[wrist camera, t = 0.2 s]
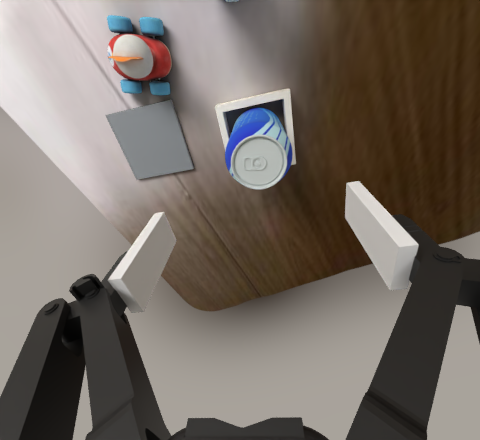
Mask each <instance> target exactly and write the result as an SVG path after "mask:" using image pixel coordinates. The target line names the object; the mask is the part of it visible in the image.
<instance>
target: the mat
mask: <svg viewBox="0 0 480 440" xmlns="http://www.w3.org/2000/svg"><path fill="white" fill-rule="evenodd" d="M106 117H107V120H108V122H109V124H110V126H111V128H112V130H113V132H114V134H115V136H116V138H117V140H118V142H119V144H120V146H121V148H122V151H123V153H124V155H125V157H126V159H127V161H128V163H129V165H130V167H131V169H132V171H133V173H134V175H135V177H136V179H137V180H138V179H143V178H148V177H154V176H159V175H164V174H170V173H175V172H180V171H185V170H191V169H194V165H193V162H192V159H191V156H190V153H189V150H188V147H187V144H186V141H185V138H184V135H183V132H182V129H181V126H180V123H179V120H178V117H177V114H176V111H175V108H174V105H173V102H172V99H171V100H167V101H163V102H159V103H154V104H150V105H146V106H142V107H138V108H134V109H130V110H126V111H122V112H118V113H113V114H109V115H106Z"/></svg>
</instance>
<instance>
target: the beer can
mask: <svg viewBox="0 0 480 440" xmlns="http://www.w3.org/2000/svg"><path fill="white" fill-rule="evenodd" d="M292 156H293V153H292V146H291V143H290V140H289V138H288V136H287V134H286V132H285V130H284V128H283V126H282V124H281V122H280V120H279V118H278V117H277V116H276V115H275V114H274V113H273V112H272V111H270V110H268V109H266V108H261V107H256V108H251V109H249V110H247V111H245V112H243V113H242V114H241V115H240V116H239V117H238V119H237V120H236V122H235V125H234V127H233V130H232V133H231V136H230V138H229V141H228V144H227V147H226V152H225V160H226V165H227V168H228V170H229V172H230V174H231V175H232V177H233V178H234V179H235V180H236V181H238V182H239V183H240V184H242V185H244V186H246V187H248V188H251V189H257V190H260V189H266V188H269V187H271V186H273V185H275V184H276V183H277V182H279V181H280V180H281V179H282V178H283V177H284V176H285V175H286V173H287V172H288V170H289V168H290V166H291V163H292Z"/></svg>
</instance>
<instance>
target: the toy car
mask: <svg viewBox="0 0 480 440" xmlns="http://www.w3.org/2000/svg"><path fill="white" fill-rule="evenodd" d="M107 20H108V26H109V29H110V31H111V32H114V33H120V34H119V35H117V36H115V37H113V38H112V39H111V41H110V42H109V45H108V58H109V60H110V63H111V65H112V66H113V68H114V69H115V70H116V71H117V72H118V73H119V74H120V75H121V76H123V77H125V78H127V79H128V80H126V79H124V80H121V88H122V91H123V92H124V93H142V86H141V82H140V81H139V80H151V82H150V83H149V85H150V91H151V93H152V94H153V95H169V94H170V84H169V83H168V82H163V81H155V80H156V79H158V80H160V78H163V77H165V76H166V75H168V73H169V72H170V70H171V66H172V60H171V55H170V52H169V50H168V48H167V47H166V45H165V44H164V43H163V42H161V41H160V40H158V39H155V37H154V36H163V34H164V31H163V23H162V20H160V19H158V18H151V17H142V18H140V20H139V22H140V28H141V32H142V34H143V35H136V34H132V32H133V30H132V24H131V20H130V19H129V18H126V17H121V16H112V15H111V16H108V17H107Z"/></svg>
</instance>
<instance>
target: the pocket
mask: <svg viewBox="0 0 480 440" xmlns="http://www.w3.org/2000/svg"><path fill="white" fill-rule="evenodd" d="M279 99H282V104H283V114H284V124H285V132H286V134H287V136H288V138H289V140H290V143H291V146H292V153H293V156H292V163H291V165H294V164H296V158H295V146H294V133H293V121H292V109H291V97H290V89H288V88H286V89H281V90H277V91H273V92H268V93H264V94H260V95H255V96H251V97H247V98H242V99H238V100H234V101H230V102H225V103H221V104H217V105H216V106H215V110H216V114H217V118H218V122H219V126H220V131H221V135H222V139H223V143H224V147H225V151H226V147H227V144H228V141H229V138H230V131H229V127H228V122H227V118H226V113H225V112H226V111H230V110H235V109H239V108H244V107H248V106H253V105H257V104H261V103H266V102H270V101H275V100H279ZM231 176H232V175H231Z"/></svg>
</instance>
